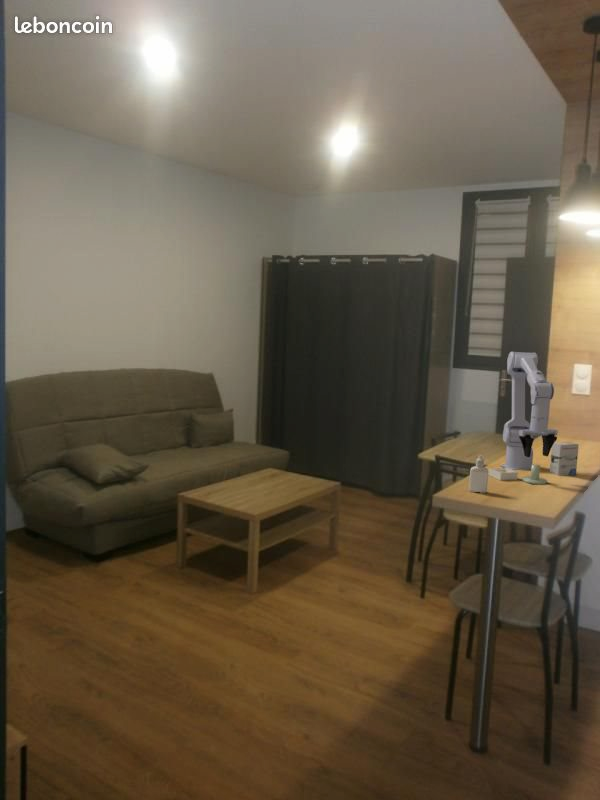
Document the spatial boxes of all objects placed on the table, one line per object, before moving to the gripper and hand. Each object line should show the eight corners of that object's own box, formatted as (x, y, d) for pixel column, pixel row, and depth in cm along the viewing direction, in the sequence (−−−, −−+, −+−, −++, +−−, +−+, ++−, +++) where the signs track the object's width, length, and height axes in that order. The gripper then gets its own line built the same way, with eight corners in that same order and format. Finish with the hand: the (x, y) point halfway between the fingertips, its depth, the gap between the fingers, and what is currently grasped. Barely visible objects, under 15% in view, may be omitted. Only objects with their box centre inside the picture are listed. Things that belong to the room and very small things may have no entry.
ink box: (566, 472, 248) (569, 441, 247) (576, 475, 244) (579, 444, 242) (548, 473, 245) (551, 442, 244) (558, 476, 241) (561, 444, 239)
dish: (504, 475, 238) (505, 467, 238) (517, 480, 232) (517, 472, 231) (488, 476, 236) (488, 468, 236) (500, 481, 229) (501, 473, 229)
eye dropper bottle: (483, 494, 211) (486, 458, 210) (466, 491, 215) (469, 455, 213) (488, 492, 215) (491, 455, 213) (472, 488, 218) (474, 453, 217)
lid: (536, 478, 235) (537, 462, 234) (551, 483, 228) (553, 467, 227) (517, 479, 232) (518, 463, 232) (532, 485, 225) (533, 468, 224)
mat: (536, 479, 235) (536, 478, 235) (551, 485, 228) (551, 483, 228) (517, 480, 232) (517, 479, 232) (532, 486, 225) (532, 485, 225)
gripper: (529, 419, 221) (526, 459, 223) (565, 419, 226) (561, 458, 227) (516, 416, 227) (513, 454, 229) (551, 415, 232) (547, 453, 234)
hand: (536, 456), depth 229 cm, fingers open, 7 cm apart
